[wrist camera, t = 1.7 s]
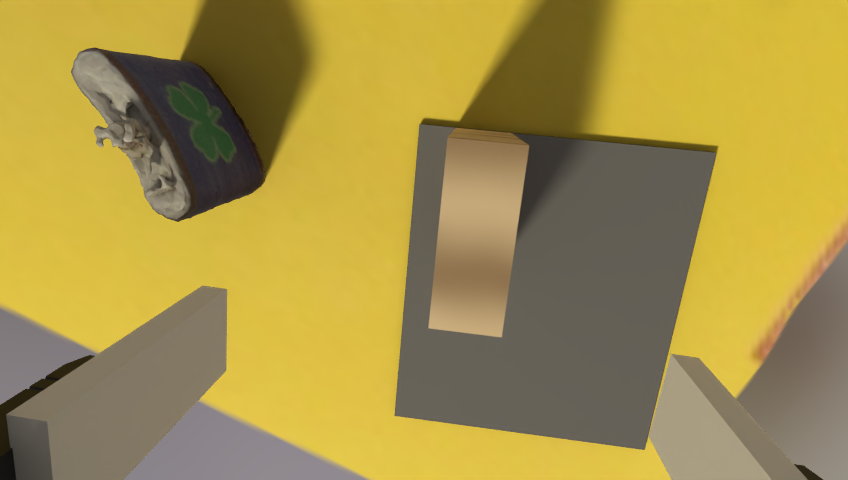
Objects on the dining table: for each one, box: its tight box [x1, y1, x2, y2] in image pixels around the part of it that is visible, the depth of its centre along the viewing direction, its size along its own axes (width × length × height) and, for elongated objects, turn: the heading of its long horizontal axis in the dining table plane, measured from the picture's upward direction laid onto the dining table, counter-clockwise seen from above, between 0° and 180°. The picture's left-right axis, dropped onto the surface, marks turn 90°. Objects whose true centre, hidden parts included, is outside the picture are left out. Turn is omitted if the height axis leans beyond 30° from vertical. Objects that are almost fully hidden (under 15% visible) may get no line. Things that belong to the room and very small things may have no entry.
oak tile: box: [428, 128, 529, 337], centre depth 28 cm, size 9×4×10 cm, turn 175°
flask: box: [71, 48, 265, 222], centre depth 28 cm, size 9×3×11 cm, turn 27°
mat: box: [395, 124, 716, 450], centre depth 34 cm, size 21×18×1 cm
